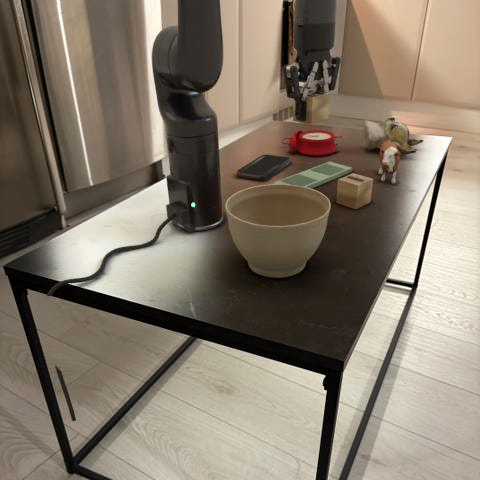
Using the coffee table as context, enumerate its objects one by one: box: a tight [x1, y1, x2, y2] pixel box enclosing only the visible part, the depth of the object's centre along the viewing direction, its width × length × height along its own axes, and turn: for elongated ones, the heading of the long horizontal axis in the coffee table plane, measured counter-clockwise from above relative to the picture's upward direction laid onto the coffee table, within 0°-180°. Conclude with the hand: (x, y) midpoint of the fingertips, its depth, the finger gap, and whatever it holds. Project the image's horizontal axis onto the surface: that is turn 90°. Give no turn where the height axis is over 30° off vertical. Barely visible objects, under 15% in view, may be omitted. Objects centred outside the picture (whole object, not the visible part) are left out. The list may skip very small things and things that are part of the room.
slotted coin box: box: [335, 172, 374, 210], centre depth 103 cm, size 5×5×5 cm
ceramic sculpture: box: [363, 117, 424, 156], centre depth 129 cm, size 11×9×15 cm
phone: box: [236, 153, 291, 182], centre depth 122 cm, size 8×1×15 cm
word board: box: [271, 161, 354, 189], centre depth 116 cm, size 20×7×1 cm, turn 133°
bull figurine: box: [377, 140, 402, 184], centre depth 113 cm, size 4×13×8 cm, turn 166°
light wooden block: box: [292, 89, 331, 126], centre depth 100 cm, size 5×5×5 cm
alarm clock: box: [280, 129, 343, 156], centre depth 133 cm, size 10×6×15 cm
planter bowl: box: [224, 183, 332, 279], centre depth 80 cm, size 16×16×11 cm
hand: (310, 117), depth 101 cm, fingers closed on light wooden block, 5 cm apart
